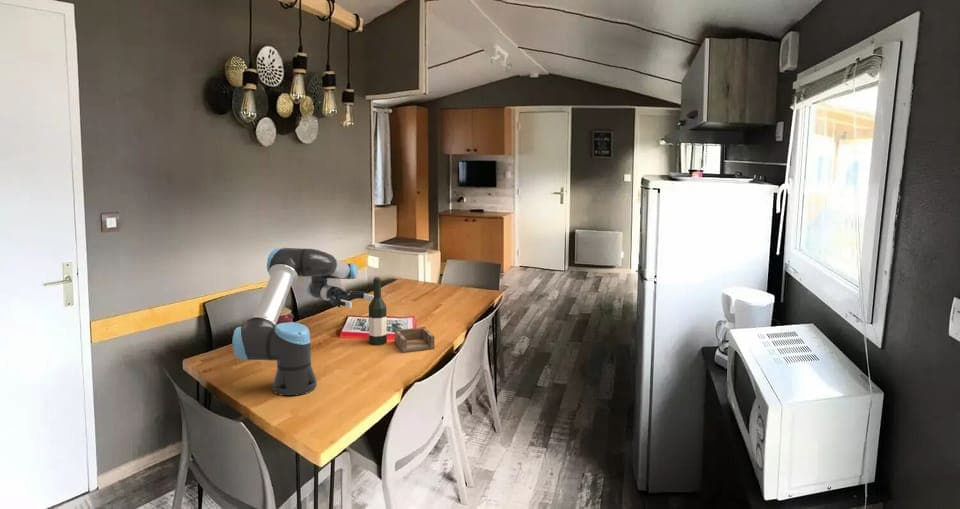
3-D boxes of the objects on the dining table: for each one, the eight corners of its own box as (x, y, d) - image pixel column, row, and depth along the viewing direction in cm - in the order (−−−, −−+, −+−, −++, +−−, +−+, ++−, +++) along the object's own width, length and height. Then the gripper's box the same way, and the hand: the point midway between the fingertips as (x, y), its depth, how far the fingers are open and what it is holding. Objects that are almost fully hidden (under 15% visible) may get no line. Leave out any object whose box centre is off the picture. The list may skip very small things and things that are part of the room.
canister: (263, 339, 252) (261, 301, 249) (294, 336, 257) (292, 299, 253) (263, 349, 240) (261, 309, 237) (295, 345, 245) (293, 307, 241)
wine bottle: (383, 346, 246) (382, 280, 241) (365, 344, 248) (364, 278, 242) (390, 340, 254) (389, 276, 249) (372, 338, 256) (371, 274, 250)
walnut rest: (434, 349, 244) (434, 336, 243) (403, 353, 238) (403, 340, 237) (424, 339, 257) (424, 326, 255) (394, 342, 251) (394, 330, 250)
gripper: (353, 296, 277) (382, 303, 264) (311, 307, 257) (341, 316, 245) (352, 281, 275) (382, 288, 263) (310, 291, 256) (340, 299, 243)
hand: (362, 301), depth 254 cm, fingers open, 13 cm apart
